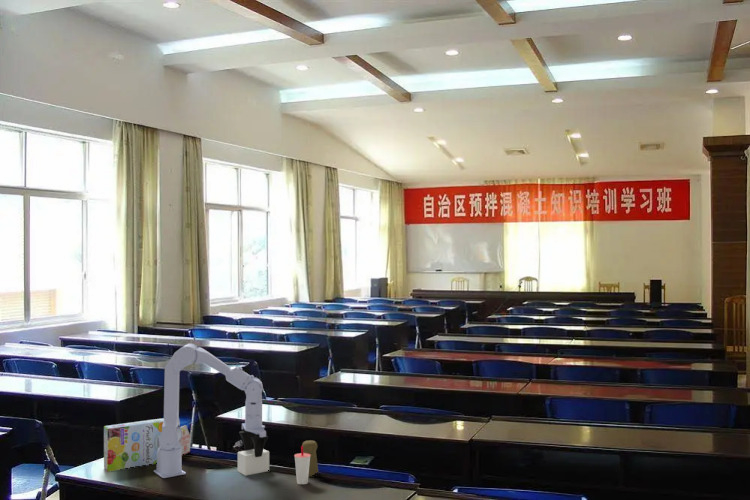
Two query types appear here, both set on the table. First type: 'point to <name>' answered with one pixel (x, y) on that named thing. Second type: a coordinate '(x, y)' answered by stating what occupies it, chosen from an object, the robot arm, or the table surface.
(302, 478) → the cup
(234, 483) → the table surface
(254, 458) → the cover
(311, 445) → the cork
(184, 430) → the tea bag
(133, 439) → the snack box
